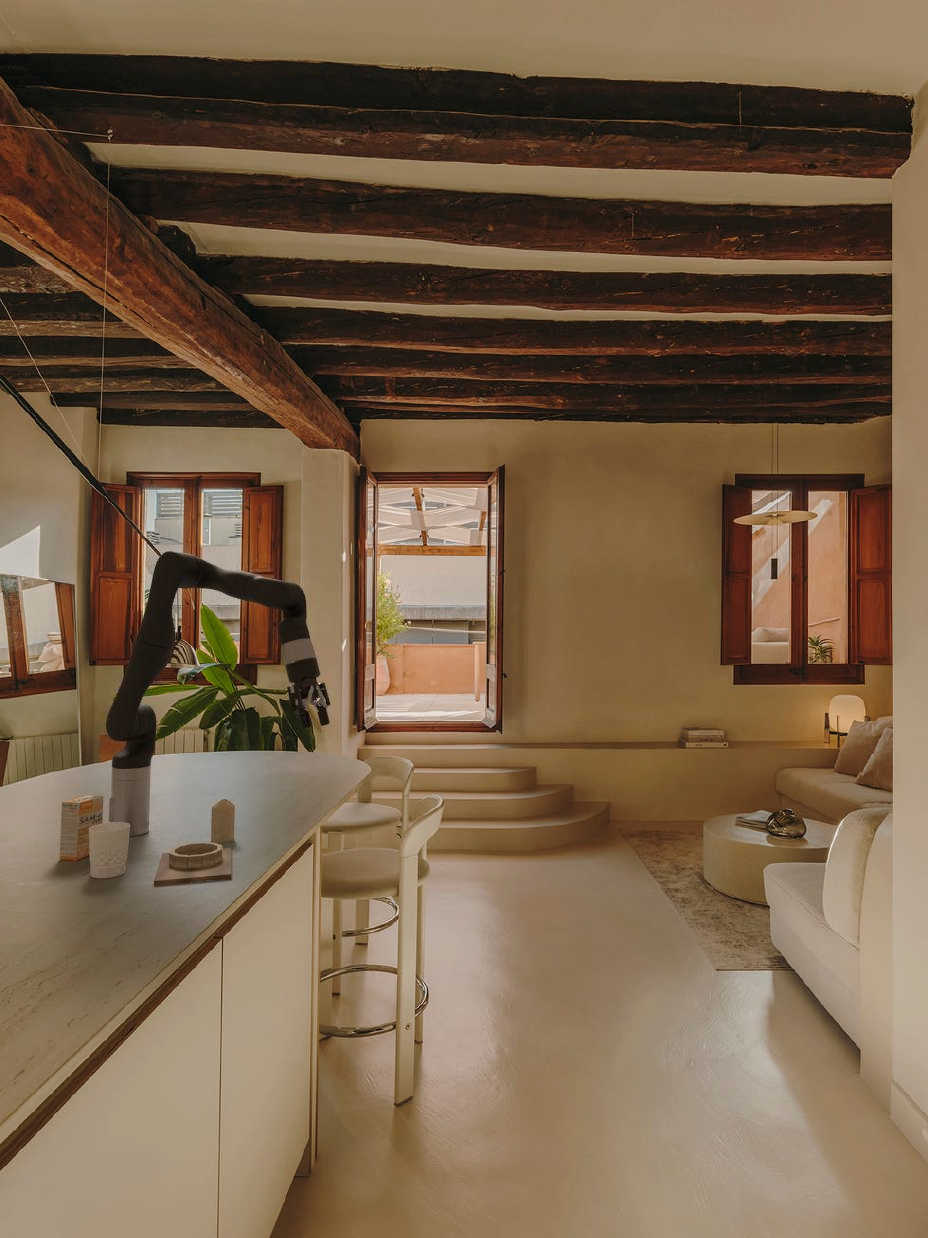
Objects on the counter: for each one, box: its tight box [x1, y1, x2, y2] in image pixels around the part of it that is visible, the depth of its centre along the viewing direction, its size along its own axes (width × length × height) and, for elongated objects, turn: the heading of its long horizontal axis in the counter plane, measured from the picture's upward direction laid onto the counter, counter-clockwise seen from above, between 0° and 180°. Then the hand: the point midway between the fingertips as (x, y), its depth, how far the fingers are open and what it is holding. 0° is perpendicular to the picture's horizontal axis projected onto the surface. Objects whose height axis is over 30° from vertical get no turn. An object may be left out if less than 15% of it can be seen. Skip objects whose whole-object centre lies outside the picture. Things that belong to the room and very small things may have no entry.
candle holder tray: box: [153, 841, 232, 887], centre depth 154 cm, size 15×20×4 cm
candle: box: [210, 798, 236, 844], centre depth 176 cm, size 6×6×10 cm
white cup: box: [89, 821, 130, 879], centre depth 150 cm, size 8×8×10 cm
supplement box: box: [59, 794, 104, 862], centre depth 162 cm, size 8×5×13 cm, turn 168°
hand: (316, 726), depth 165 cm, fingers open, 8 cm apart
